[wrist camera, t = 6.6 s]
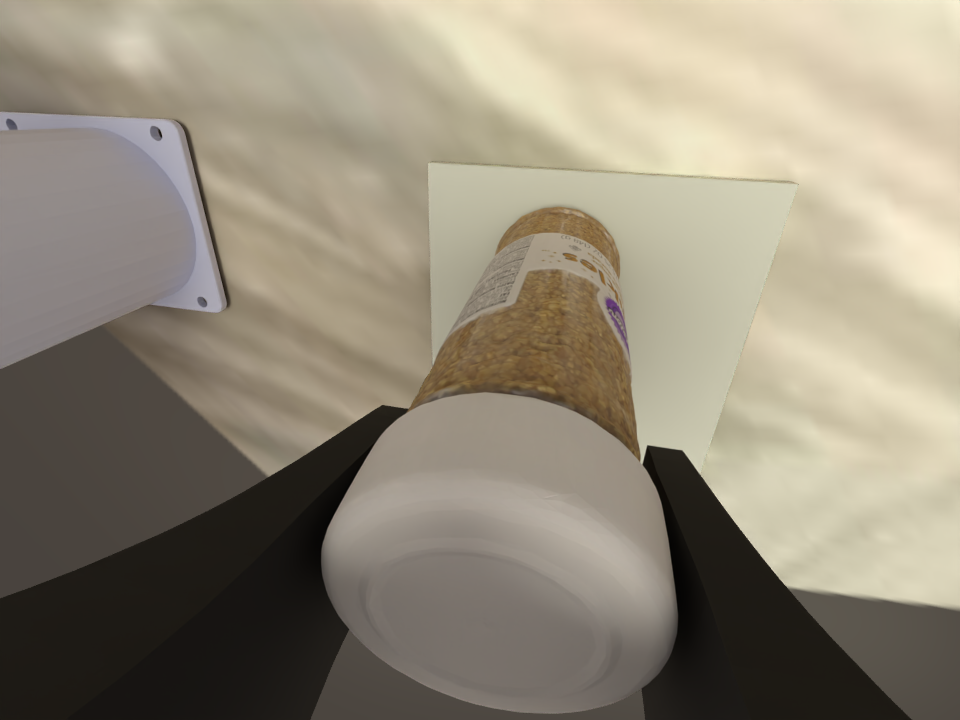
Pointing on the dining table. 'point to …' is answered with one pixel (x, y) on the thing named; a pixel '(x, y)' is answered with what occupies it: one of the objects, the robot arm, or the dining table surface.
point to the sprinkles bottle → (516, 496)
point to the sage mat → (631, 272)
